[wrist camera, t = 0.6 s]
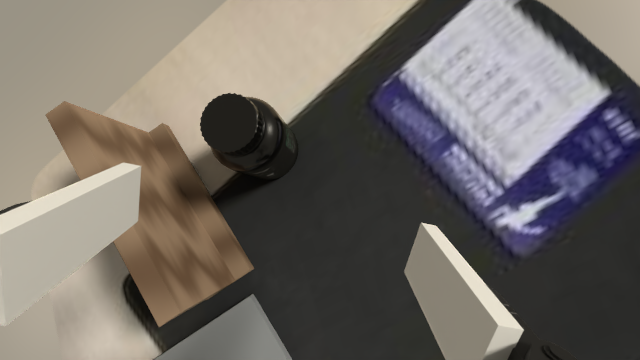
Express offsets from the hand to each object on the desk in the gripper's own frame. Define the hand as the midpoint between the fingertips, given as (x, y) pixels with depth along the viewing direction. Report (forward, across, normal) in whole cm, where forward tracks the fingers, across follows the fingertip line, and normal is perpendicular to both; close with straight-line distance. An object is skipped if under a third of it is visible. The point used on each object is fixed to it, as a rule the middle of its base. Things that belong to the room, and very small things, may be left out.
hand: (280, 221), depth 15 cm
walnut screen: (+21, +11, +11) cm, 26 cm away
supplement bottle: (+22, +3, +2) cm, 23 cm away
